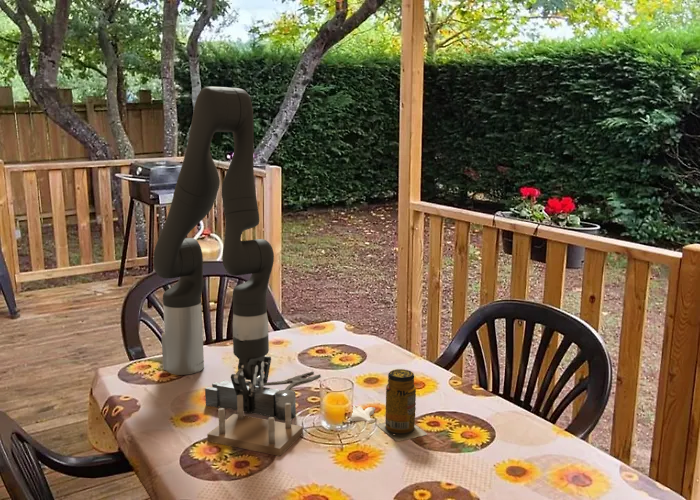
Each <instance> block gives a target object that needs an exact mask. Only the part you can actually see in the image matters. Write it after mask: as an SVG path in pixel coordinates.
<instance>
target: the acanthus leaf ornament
mask: <svg viewBox="0 0 700 500" xmlns="http://www.w3.org/2000/svg"><path fill="white" fill-rule="evenodd" d="M352 405H353V413H352V416H351V419H352V421H355V422H359V421H363V422H368V423H371V424H372V423H375V422H376V421H375V419H374V418H371V416H372V415H374V413H375V411H376V408H375V407H372V406H370V407H369V406H368V407H366V408H365V409H364V408H363V407H362V406H360V405H359V406H355V404H352Z"/></svg>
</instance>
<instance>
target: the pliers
mask: <svg viewBox="0 0 700 500" xmlns="http://www.w3.org/2000/svg"><path fill="white" fill-rule="evenodd" d="M314 374H315V373H314V371H310V372H307V373H303V374H298V375H296V376H294V377H291V378H287V379H285V380H280V381H279V380H277V381H270V382H268V381H267V383H266V384H265V383H264V386H273V385H274V386H276V385H287V384H289V385H288V386H286V387H285V389H284V390H292V388H294V387H296V386H298V385H301V384H305V383H309V382H313V381H315V380H317V379H319V378H320V377H321V374H315V375H314ZM312 375H313V376H312Z"/></svg>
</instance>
